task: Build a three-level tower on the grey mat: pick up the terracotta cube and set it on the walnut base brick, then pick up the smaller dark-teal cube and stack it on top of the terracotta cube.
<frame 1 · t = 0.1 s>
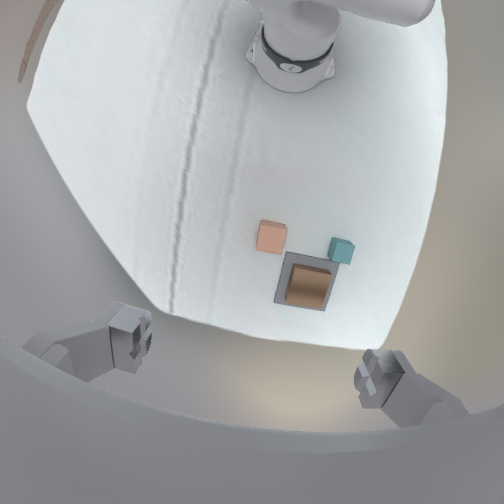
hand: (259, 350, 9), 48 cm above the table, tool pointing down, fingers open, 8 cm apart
mat: (306, 282, 60), on the table
teal cube: (338, 248, 57), on the table
terracotta cube: (270, 233, 57), on the table
base brick: (306, 283, 59), point 1 cm above the table, touching mat
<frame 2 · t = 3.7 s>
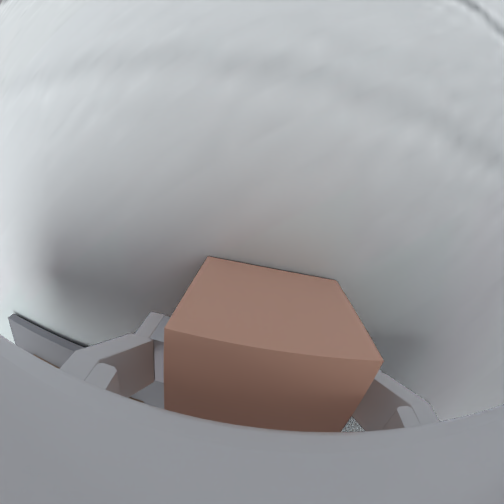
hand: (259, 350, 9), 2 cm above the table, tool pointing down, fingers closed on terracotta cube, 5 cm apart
mat: (97, 411, 14), on the table
terracotta cube: (260, 325, 11), on the table, touching gripper
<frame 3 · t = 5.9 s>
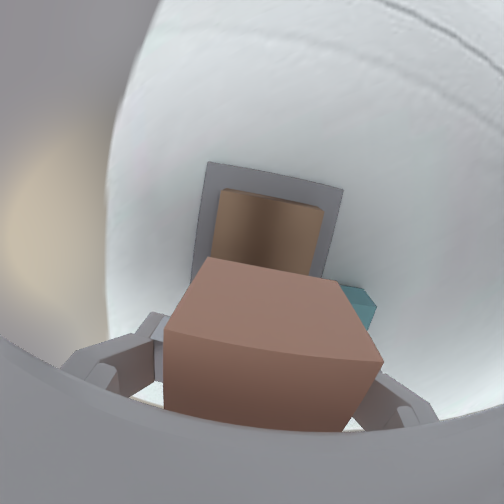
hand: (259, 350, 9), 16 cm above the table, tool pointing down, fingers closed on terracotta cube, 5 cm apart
mat: (263, 239, 25), on the table
teal cube: (339, 303, 27), on the table
terracotta cube: (260, 325, 11), point 15 cm above the table, touching gripper
base brick: (263, 241, 24), point 1 cm above the table, touching mat
when the fingers open (6 cm above the table, at t = 8.2 s): terracotta cube stays where it is, resting on base brick.
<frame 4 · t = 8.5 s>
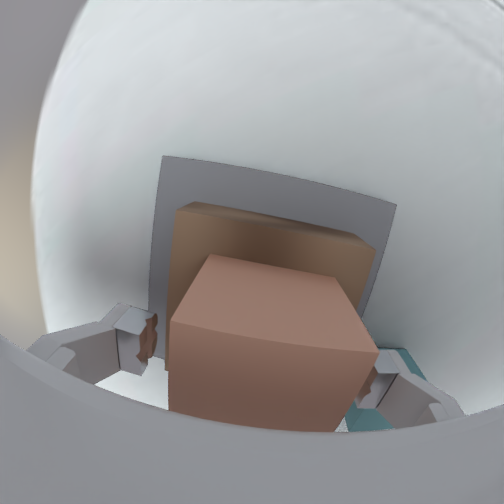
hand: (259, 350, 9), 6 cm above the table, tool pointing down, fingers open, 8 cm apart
mat: (260, 287, 15), on the table
teal cube: (372, 370, 16), on the table
terracotta cube: (261, 321, 11), point 4 cm above the table, touching base brick
base brick: (260, 292, 14), point 1 cm above the table, touching mat, terracotta cube
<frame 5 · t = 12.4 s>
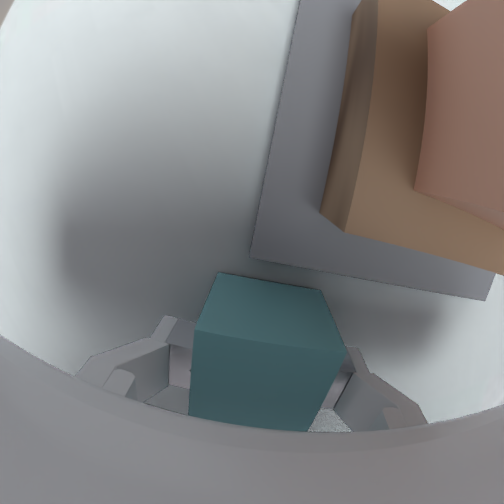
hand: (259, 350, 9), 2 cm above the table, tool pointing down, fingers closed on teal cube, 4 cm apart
mat: (427, 138, 8), on the table
teal cube: (260, 325, 11), on the table, touching gripper
terracotta cube: (487, 135, 5), point 4 cm above the table, touching base brick
base brick: (435, 137, 8), point 1 cm above the table, touching mat, terracotta cube
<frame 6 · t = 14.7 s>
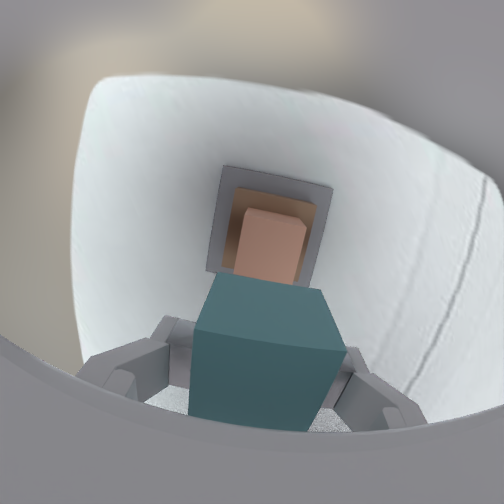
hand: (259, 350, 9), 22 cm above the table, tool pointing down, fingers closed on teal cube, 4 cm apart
mat: (267, 229, 30), on the table
teal cube: (260, 325, 11), point 20 cm above the table, touching gripper
terracotta cube: (268, 237, 27), point 4 cm above the table, touching base brick
base brick: (267, 230, 30), point 1 cm above the table, touching mat, terracotta cube
when the fingers open (10 cm above the table, at t = 17.2 s): teal cube stays where it is, resting on terracotta cube.
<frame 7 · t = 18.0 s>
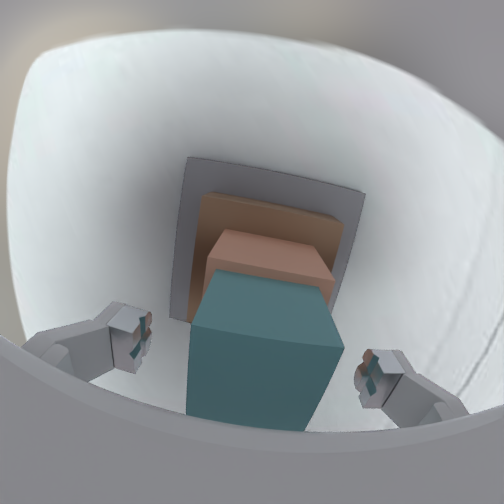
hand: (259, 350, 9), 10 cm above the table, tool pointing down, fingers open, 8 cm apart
mat: (260, 258, 19), on the table
teal cube: (258, 322, 11), point 9 cm above the table, touching terracotta cube
terracotta cube: (261, 278, 16), point 4 cm above the table, touching base brick, teal cube
base brick: (260, 260, 19), point 1 cm above the table, touching mat, terracotta cube
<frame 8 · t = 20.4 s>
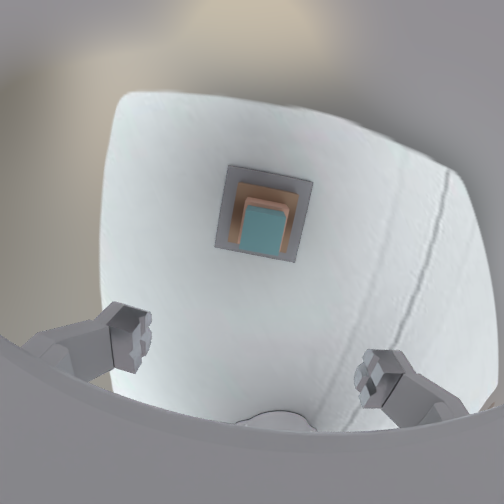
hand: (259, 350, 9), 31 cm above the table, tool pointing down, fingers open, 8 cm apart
mat: (262, 214, 39), on the table
teal cube: (262, 225, 31), point 9 cm above the table, touching terracotta cube
terracotta cube: (263, 219, 36), point 4 cm above the table, touching base brick, teal cube
base brick: (262, 214, 39), point 1 cm above the table, touching mat, terracotta cube
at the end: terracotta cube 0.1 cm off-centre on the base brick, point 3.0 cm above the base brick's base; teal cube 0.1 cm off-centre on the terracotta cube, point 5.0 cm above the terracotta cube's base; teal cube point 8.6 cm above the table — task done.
